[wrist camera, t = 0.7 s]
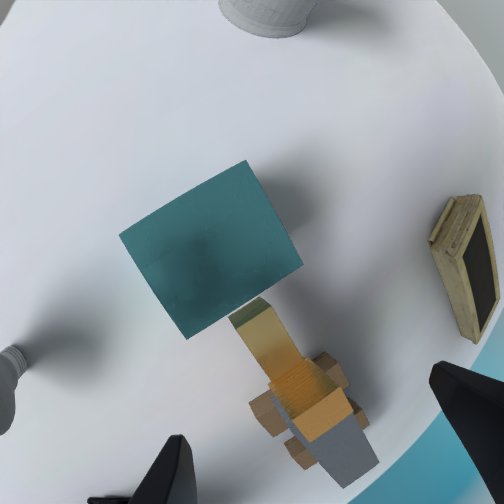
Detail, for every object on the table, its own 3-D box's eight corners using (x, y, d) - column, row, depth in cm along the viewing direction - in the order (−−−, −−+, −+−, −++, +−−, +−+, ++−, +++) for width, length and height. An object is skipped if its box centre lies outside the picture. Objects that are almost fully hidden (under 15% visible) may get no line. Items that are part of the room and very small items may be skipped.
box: (442, 187, 25) (481, 191, 20) (478, 297, 34) (503, 306, 29) (409, 248, 24) (452, 260, 19) (454, 342, 33) (479, 354, 29)
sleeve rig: (360, 418, 26) (398, 452, 19) (299, 460, 25) (328, 502, 18) (228, 178, 21) (254, 155, 14) (132, 236, 19) (109, 240, 12)
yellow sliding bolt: (354, 444, 22) (390, 481, 16) (329, 461, 22) (362, 502, 16) (263, 293, 18) (306, 324, 12) (223, 319, 18) (248, 363, 12)
